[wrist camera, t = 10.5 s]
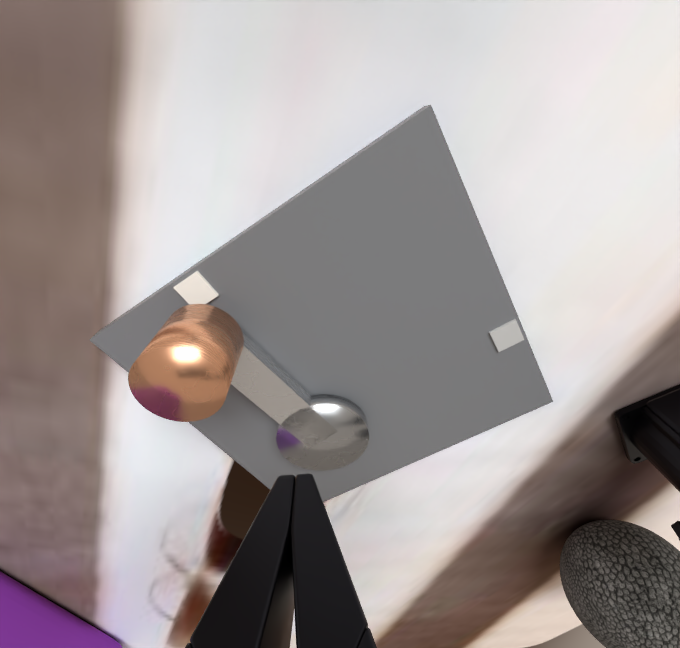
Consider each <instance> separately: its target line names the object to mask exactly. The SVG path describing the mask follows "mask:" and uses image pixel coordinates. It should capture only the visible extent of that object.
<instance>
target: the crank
mask: <svg viewBox="0 0 680 648" xmlns="http://www.w3.org/2000/svg"><path fill="white" fill-rule="evenodd" d="M128 381H129V386H130V389H131V392H132V394H133V395H134V397H135V398H136V400H137V401H138V402H139V403H140V404H141V405H142V406H143V407H145V408H146V409H147V410H149V411H150V412H152V413H154V414H156V415H158V416H160V417H163V418H166V419H169V420H174V421H181V422H191V421H198V420H202V419H205V418H208V417H210V416H212V415H213V414H215V413H216V412H217V411H218V410H219V409H220V408H221V407H222V405H223V404H224V401H225V399H226V396H227V393H228V390H229V387H230V384H232V385H233V386H234V387H235V388H236V389H238V390H239V391H240V392H241V393H242V394H244V395H245V396H246V397H247V398H249V399H250V400H251V401H252V402H253V403H255V404H256V405H257V406H258V407H259V408H261V409H262V410H263V411H264V412H265V413H267V414H268V415H269V416H270V417H271V418H273V419H274V420H275V421H276V422H278V429H277V436H276V442H277V446H278V449H279V451H280V452H281V454H282V455H283V456H284V457H285V458H286V459H287V460H288V461H290V462H291V463H293V464H295V465H297V466H299V467H302V468H305V469H310V470H322V471H324V470H333V469H337V468H341V467H344V466H346V465H348V464H350V463H352V462H354V461H355V460H356V459H358V458H359V457H360V456H361V455H362V454H363V452H364V451H365V450H366V448H367V445H368V442H369V431H368V424H367V419H366V416H365V414H364V413H363V411H362V410H361V408H360V407H359V406H358V405H356V404H355V403H354V402H352V401H350V400H348V399H346V398H344V397H341V396H337V395H331V394H317V395H310V394H309V393H308V392H307V391H306V390H304V389H303V388H302V387H301V386H300V385H299V384H298V383H297V382H296V381H295V380H294V379H293V378H292V377H290V376H289V375H288V374H287V373H286V372H285V371H284V370H283V369H282V368H281V367H280V366H279V365H278V364H277V363H275V362H274V361H273V360H272V359H271V358H270V357H269V356H268V355H267V354H266V353H265V352H264V351H263V350H261V349H260V348H259V347H258V346H257V345H256V344H255V343H254V342H253V341H252V340H251V339H250V338H249V337H248V336H246V335H245V334H244V333H243V332H242V330H241V328H240V326H239V324H238V323H237V322H236V320H235V319H234V318H233V317H232V316H231V315H229V314H228V313H227V312H225V311H223V310H221V309H220V308H217V307H215V306H211V305H207V304H191V305H186V306H183V307H181V308H179V309H177V310H176V311H175V312H174V313H173V314H171V316H170V317H169V318H168V320H167V321H166V322H165V323H164V325H163V326H162V327H161V329H160V330H159V331H158V332H157V334H156V335H155V336H154V338H153V339H152V340H151V341H150V343H149V344H148V345H147V347H146V348H145V349H144V350H143V352H142V353H141V354H140V356H139V357H138V358H137V359H136V361H135V362H134V363H133V365H132V366H131V368H130V371H129V376H128Z"/></svg>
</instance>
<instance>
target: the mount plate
mask: <svg viewBox="0 0 680 648" xmlns="http://www.w3.org/2000/svg"><path fill="white" fill-rule="evenodd" d="M191 304H207V305H211V306H215V307H217V308H220V309H221V310H223V311H225V312H227V313H228V314H229V315H231V316H232V317H233V318H234V319H235V320H236V322H237V323H238V324H239V326H240V328H241V330H242V332H243V333H244V334H245V335H246V336H248V337H249V338H250V339H251V340H252V341H253V342H254V343H255V344H256V345H257V346H258V347H259V348H260V349H261V350H263V351H264V352H265V353H266V354H267V355H268V356H269V357H270V358H271V359H272V360H273V361H274V362H275V363H277V364H278V365H279V366H280V367H281V368H282V369H283V370H284V371H285V372H286V373H287V374H288V375H289V376H290V377H292V378H293V379H294V380H295V381H296V382H297V383H298V384H299V385H300V386H301V387H302V388H303V389H304V390H306V391H307V392H308V393H309V394H310V395H317V394H331V395H337V396H341V397H344V398H346V399H348V400H350V401H352V402H354V403H355V404H356V405H358V406H359V407H360V408H361V410H362V411H363V413H364V414H365V416H366V419H367V424H368V431H369V442H368V445H367V448H366V450H365V451H364V452H363V454H362V455H361V456H360V457H359V458H358V459H356V460H355V461H354V462H352V463H350V464H348V465H346V466H344V467H341V468H337V469H333V470H324V471H322V470H310V469H305V468H302V467H299V466H297V465H295V464H293V463H291V462H290V461H288V460H287V459H286V458H285V457H284V456H283V455H282V454H281V452H280V451H279V449H278V446H277V442H276V436H277V429H278V422H276V421H275V420H274V419H273V418H271V417H270V416H269V415H268V414H267V413H265V412H264V411H263V410H262V409H261V408H259V407H258V406H257V405H256V404H255V403H253V402H252V401H251V400H250V399H249V398H247V397H246V396H245V395H244V394H242V393H241V392H240V391H239V390H238V389H236V388H235V387H234V386H233V385H232V384H230V387H229V390H228V393H227V396H226V399H225V401H224V404H223V405H222V407H221V408H220V409H219V410H218V411H217V412H216V413H215V414H213V415H212V416H210V417H208V418H205V419H202V420H198V421H191V422H189V423H190V424H192V425H193V426H194V427H195V428H196V429H198V430H199V431H200V432H201V433H202V434H204V435H205V436H206V437H207V438H208V439H210V440H211V441H212V442H213V443H215V444H216V445H217V446H218V447H219V448H221V449H222V450H223V451H224V452H225V453H227V454H228V455H229V456H230V457H231V458H233V459H234V460H235V461H236V462H237V463H239V464H240V465H241V466H242V467H244V468H245V469H246V470H247V471H248V472H250V473H251V474H252V475H253V476H254V477H256V478H257V479H258V480H259V481H261V482H262V483H263V484H264V485H265V486H267V487H268V488H269V489H270V490H271V488H272V486H273V484H274V483H275V481H276V479H277V478H278V477H279V476H280V475H295V477H296V475H298V474H307V473H311V474H312V475H313V477H314V479H315V482H316V485H317V487H318V490H319V493H320V496H321V498H322V501H323V502H324V501H327V500H329V499H331V498H333V497H336V496H338V495H340V494H343V493H345V492H347V491H349V490H352V489H354V488H356V487H359V486H361V485H363V484H366V483H368V482H370V481H372V480H375V479H377V478H379V477H382V476H384V475H386V474H388V473H391V472H393V471H395V470H398V469H400V468H402V467H404V466H407V465H409V464H411V463H414V462H416V461H418V460H420V459H423V458H425V457H427V456H430V455H432V454H434V453H436V452H439V451H441V450H443V449H446V448H448V447H450V446H452V445H455V444H457V443H459V442H462V441H464V440H466V439H468V438H471V437H473V436H475V435H478V434H480V433H482V432H484V431H487V430H489V429H491V428H494V427H496V426H498V425H501V424H503V423H505V422H507V421H510V420H512V419H514V418H517V417H519V416H521V415H523V414H526V413H528V412H530V411H533V410H535V409H537V408H539V407H542V406H544V405H546V404H549V403H551V402H553V400H552V398H551V395H550V393H549V390H548V388H547V386H546V383H545V381H544V378H543V376H542V373H541V371H540V369H539V366H538V364H537V361H536V359H535V356H534V354H533V352H532V349H531V347H530V344H529V342H528V340H527V337H526V335H525V332H524V330H523V327H522V325H521V323H520V320H519V318H518V315H517V313H516V310H515V308H514V306H513V303H512V301H511V298H510V296H509V293H508V291H507V289H506V286H505V284H504V281H503V279H502V276H501V274H500V272H499V269H498V267H497V264H496V262H495V259H494V257H493V255H492V252H491V250H490V247H489V245H488V242H487V240H486V238H485V235H484V233H483V230H482V228H481V225H480V223H479V221H478V218H477V216H476V213H475V211H474V209H473V206H472V204H471V201H470V199H469V196H468V194H467V192H466V189H465V187H464V184H463V182H462V179H461V177H460V175H459V172H458V170H457V167H456V165H455V162H454V160H453V158H452V155H451V153H450V150H449V148H448V145H447V143H446V141H445V138H444V136H443V133H442V131H441V128H440V126H439V124H438V121H437V119H436V116H435V114H434V111H433V109H432V107H431V105H428V106H424V107H423V108H421V109H420V110H418V111H417V112H415V113H414V114H413V115H411V116H410V117H408V118H407V119H405V120H404V121H402V122H401V123H400V124H398V125H397V126H395V127H394V128H392V129H391V130H389V131H388V132H386V133H385V134H384V135H382V136H381V137H379V138H378V139H376V140H375V141H373V142H372V143H371V144H369V145H368V146H366V147H365V148H363V149H362V150H360V151H359V152H357V153H356V154H355V155H353V156H352V157H350V158H349V159H347V160H346V161H344V162H343V163H342V164H340V165H339V166H337V167H336V168H334V169H333V170H331V171H330V172H329V173H327V174H326V175H324V176H323V177H321V178H320V179H318V180H317V181H315V182H314V183H313V184H311V185H310V186H308V187H307V188H305V189H304V190H302V191H301V192H300V193H298V194H297V195H295V196H294V197H292V198H291V199H289V200H288V201H286V202H285V203H284V204H282V205H281V206H279V207H278V208H276V209H275V210H273V211H272V212H271V213H269V214H268V215H266V216H265V217H263V218H262V219H260V220H259V221H258V222H256V223H255V224H253V225H252V226H250V227H249V228H247V229H246V230H244V231H243V232H242V233H240V234H239V235H237V236H236V237H234V238H233V239H231V240H230V241H229V242H227V243H226V244H224V245H223V246H221V247H220V248H218V249H217V250H215V251H214V252H213V253H211V254H210V255H208V256H207V257H205V258H204V259H202V260H201V261H200V262H198V263H197V264H195V265H194V266H192V267H191V268H189V269H188V270H187V271H185V272H184V273H182V274H181V275H179V276H178V277H176V278H175V279H173V280H172V281H171V282H169V283H168V284H166V285H165V286H163V287H162V288H160V289H159V290H158V291H156V292H155V293H153V294H152V295H150V296H149V297H147V298H146V299H144V300H143V301H142V302H140V303H139V304H137V305H136V306H134V307H133V308H131V309H130V310H129V311H127V312H126V313H124V314H123V315H121V316H120V317H118V318H117V319H116V320H114V321H113V322H111V323H110V324H108V325H107V326H105V327H104V328H102V329H101V330H100V331H98V332H97V333H96V334H95V335H94V336H93V337H92V338H91V339H90V341H91V342H92V343H94V344H95V345H96V346H97V347H98V348H100V349H101V350H102V351H103V352H104V353H106V354H107V355H108V356H109V357H110V358H112V359H113V360H114V361H115V362H117V363H118V364H119V365H120V366H121V367H123V368H124V369H125V370H126V371H127V372H129V371H130V368H131V366H132V365H133V363H134V362H135V361H136V359H137V358H138V357H139V356H140V354H141V353H142V352H143V350H144V349H145V348H146V347H147V345H148V344H149V343H150V341H151V340H152V339H153V338H154V336H155V335H156V334H157V332H158V331H159V330H160V329H161V327H162V326H163V325H164V323H165V322H166V321H167V320H168V318H169V317H170V316H171V314H173V313H174V312H175V311H176V310H177V309H179V308H181V307H183V306H186V305H191Z"/></svg>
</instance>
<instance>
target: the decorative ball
mask: <svg viewBox="0 0 680 648" xmlns="http://www.w3.org/2000/svg"><path fill="white" fill-rule="evenodd" d="M560 576H561V581H562V585H563V588H564V591H565V594H566V597H567V599H568V601H569V603H570V605H571V607H572V609H573V610H574V612H575V614H576V615H577V617H578V618H579V620H580V621H581V622H582V624H583V625H584V626H585V627H586V628H587V630H588V631H589V632H590V633H591V634H592V635H593V636H594V637H595V638H596V639H597V640H598V641H599V642H600V643H601V644H602V645H604V646H605V647H606V648H680V551H679V550H678V549H676V548H675V547H674V546H673V545H672V544H670V543H669V542H668V541H666V540H665V539H663V538H662V537H660V536H659V535H657V534H655V533H654V532H652V531H650V530H648V529H646V528H643V527H641V526H638V525H635V524H632V523H629V522H624V521H618V520H597V521H593V522H589V523H586V524H584V525H582V526H580V527H579V528H577V529H576V530H575V531H574V532H573V533H572V534H571V535H570V536H569V537H568V539H567V540H566V542H565V544H564V546H563V549H562V552H561V557H560Z"/></svg>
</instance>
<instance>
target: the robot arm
mask: <svg viewBox="0 0 680 648" xmlns="http://www.w3.org/2000/svg"><path fill="white" fill-rule="evenodd" d="M615 418H616V421H617V425H618V428H619V432H620V435H621V438H622V442H623V445H624V449H625V452H626V455H627V458H628V459H629V460H630V461H631V462H632V463H639V462H642V461H644V460H647V459H648V460H649V461H650V462H651V463H652V464H653V465H654V466H655V467H656V468H657V469H658V470H659V471H660V472H661V473H662V474H663V475H664V476H665V477H666V478H667V479H668V480H669V481H670V482H671V483H672V485H673V486H674V487H675V488H676V489H677V490H678V491H679V492H680V385H679V386H677V387H674V388H672V389H669V390H667V391H664V392H662V393H660V394H657V395H655V396H652V397H650V398H647V399H645V400H643V401H640V402H638V403H635V404H633V405H631V406H628V407H626V408H623V409H621V410H619V411H618V412H617V413H616V414H615ZM671 527H672V528H673V530H674V531H675V533H676V534H677V536H678V537H679V540H680V521H677V522H675V523H674V524H672V525H671ZM294 608H295V626H296V645H297V648H377V647H376V644H375V642H374V639H373V636H372V633H371V631H370V629H369V628H368V623H367V620H366V618H365V615H364V612H363V609H362V607H361V604H360V601H359V599H358V596H357V593H356V591H355V588H354V585H353V582H352V580H351V577H350V574H349V572H348V569H347V566H346V563H345V561H344V558H343V555H342V553H341V550H340V547H339V544H338V542H337V539H336V536H335V534H334V531H333V528H332V525H331V523H330V520H329V517H328V515H327V512H326V509H325V506H324V504H323V501H322V498H321V496H320V493H319V490H318V487H317V485H316V482H315V479H314V477H313V475H312V474H311V473H307V474H298V475H296V477H295V475H280V476H279V477H278V478H277V479H276V481H275V483H274V484H273V486H272V488H271V490H270V492H269V494H268V496H267V497H266V499H265V501H264V503H263V505H262V507H261V508H260V511H259V512H258V514H257V516H256V518H255V520H254V522H253V523H252V525H251V527H250V529H249V531H248V533H247V534H246V536H245V538H244V540H243V542H242V544H241V545H240V547H239V549H238V551H237V553H236V555H235V557H234V558H233V560H232V562H231V564H230V566H229V568H228V570H227V571H226V573H225V575H224V577H223V579H222V581H221V582H220V584H219V586H218V588H217V590H216V592H215V594H214V595H213V597H212V599H211V601H210V603H209V605H208V607H207V608H206V610H205V612H204V614H203V616H202V618H201V619H200V621H199V623H198V625H197V627H196V629H195V631H194V632H193V634H192V636H191V638H190V642H191V643H188V644H187V645H186V647H185V648H290V640H291V631H292V622H293V614H294Z"/></svg>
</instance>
